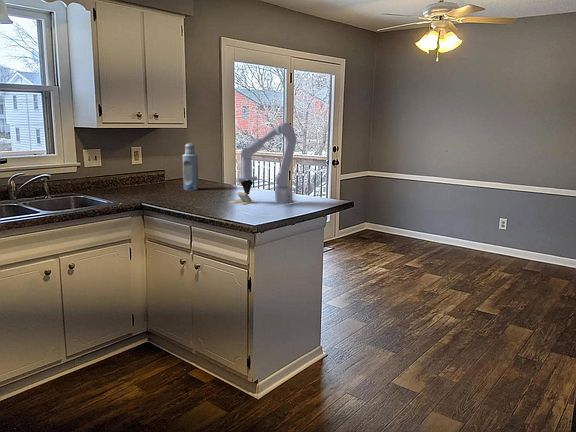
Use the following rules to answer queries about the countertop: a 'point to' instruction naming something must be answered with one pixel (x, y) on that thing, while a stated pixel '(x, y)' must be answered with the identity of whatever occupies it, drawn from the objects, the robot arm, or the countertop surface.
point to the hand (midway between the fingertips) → (247, 194)
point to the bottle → (190, 168)
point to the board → (242, 202)
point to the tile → (244, 197)
